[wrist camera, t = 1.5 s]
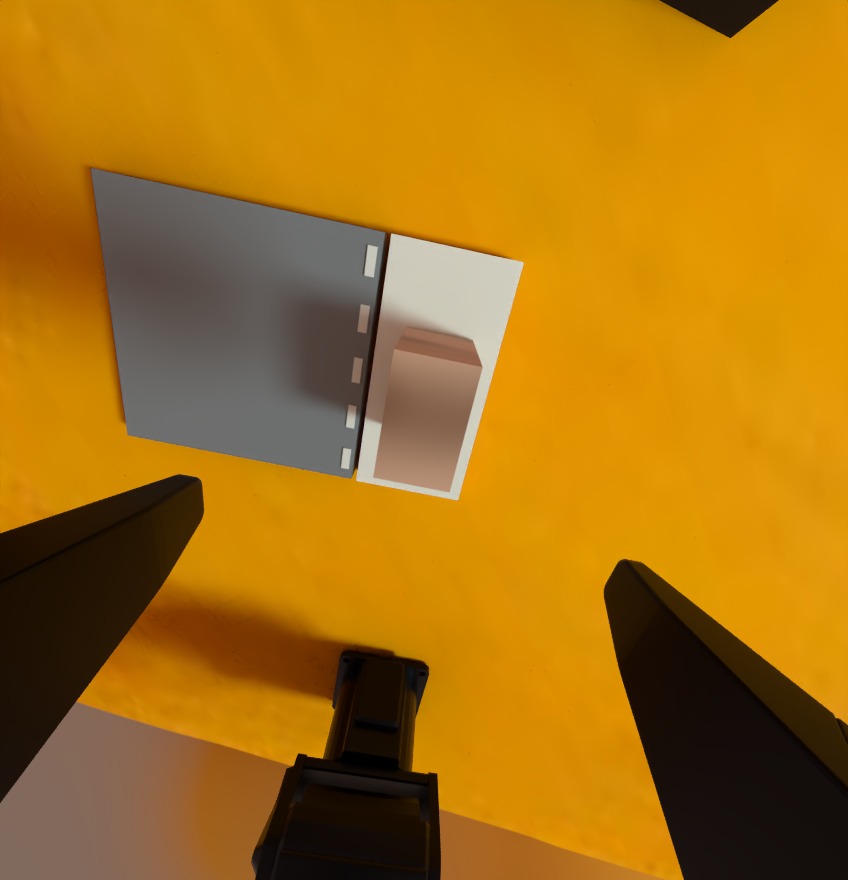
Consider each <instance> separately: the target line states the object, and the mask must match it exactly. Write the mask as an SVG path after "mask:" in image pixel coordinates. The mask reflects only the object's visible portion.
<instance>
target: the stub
mask: <svg viewBox="0 0 848 880" xmlns="http://www.w3.org/2000/svg"><path fill="white" fill-rule="evenodd" d="M523 264H524V262H520V261H515V260H511V259H506V258H502V257H497V256H492V255H488V254H483V253H479V252H474V251H469V250H465V249H460V248H456V247H451V246H447V245H442V244H437V243H433V242H428V241H424V240H419V239H415V238H410V237H405V236H401V235H396V234H392V233H391V240H390V247H389V254H388V261H387V268H386V275H385V282H384V290H383V297H382V304H381V311H380V318H379V325H378V332H377V339H376V346H375V353H374V360H373V367H372V374H371V381H370V388H369V395H368V402H367V409H366V416H365V423H364V430H363V437H362V444H361V451H360V458H359V465H358V472H357V479H356V481H361V482H366V483H371V484H376V485H381V486H387V487H392V488H397V489H402V490H407V491H412V492H417V493H423V494H428V495H433V496H438V497H443V498H448V499H453V500H458V498H459V494H460V491H461V487H462V484H463V480H464V476H465V473H466V469H467V466H468V462H469V458H470V455H471V451H472V448H473V444H474V440H475V437H476V433H477V430H478V426H479V422H480V419H481V415H482V411H483V408H484V404H485V401H486V397H487V393H488V390H489V386H490V383H491V379H492V375H493V372H494V368H495V365H496V361H497V357H498V354H499V350H500V347H501V343H502V339H503V336H504V332H505V329H506V325H507V321H508V318H509V314H510V311H511V307H512V303H513V300H514V296H515V293H516V289H517V285H518V282H519V278H520V275H521V271H522V267H523Z"/></svg>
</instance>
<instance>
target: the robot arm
mask: <svg viewBox="0 0 848 880" xmlns="http://www.w3.org/2000/svg"><path fill="white" fill-rule="evenodd" d="M203 514H204V502H203V489H202V482H201V480H200V479H199V478H197V477H192V476H187V475H181V474H179V475H175V476H172V477H169V478H166V479H163V480H160V481H157V482H154V483H151V484H148V485H145V486H142V487H138V488H135V489H132V490H129V491H126V492H123V493H120V494H117V495H114V496H111V497H108V498H105V499H102V500H99V501H96V502H93V503H90V504H87V505H84V506H81V507H78V508H75V509H72V510H69V511H66V512H63V513H60V514H57V515H54V516H51V517H48V518H45V519H42V520H39V521H36V522H33V523H30V524H27V525H24V526H21V527H18V528H15V529H12V530H9V531H6V532H3V533H0V803H1V801H2V800H3V798H4V797H5V796H6V795H7V793H8V792H9V791H10V789H11V788H12V787H13V785H14V784H15V783H16V781H17V780H18V779H19V777H20V776H21V775H22V773H23V772H24V771H25V769H26V768H27V767H28V765H29V764H30V762H31V761H32V760H33V758H34V757H35V755H36V754H37V753H38V752H39V750H40V749H41V748H42V746H43V745H44V744H45V742H46V741H47V740H48V738H49V737H50V736H51V734H52V733H53V732H54V730H55V729H56V728H57V726H58V725H59V724H60V722H61V721H62V720H63V718H64V717H65V716H66V714H67V713H68V712H69V710H70V709H71V707H72V706H73V705H74V704H75V702H76V701H77V700H78V698H79V697H80V695H81V694H82V693H83V691H84V690H85V689H86V687H87V686H88V685H89V683H90V682H91V681H92V679H93V678H94V677H95V675H96V674H97V673H98V671H99V670H100V669H101V667H102V666H103V665H104V663H105V662H106V661H107V659H108V658H109V657H110V655H111V654H112V653H113V651H114V650H115V649H116V647H117V646H118V645H119V643H120V642H121V641H122V639H123V638H124V637H125V635H126V634H127V632H128V631H129V630H130V628H131V627H132V626H133V624H134V623H135V622H136V620H137V619H138V618H139V616H140V615H141V614H142V612H143V611H144V610H145V608H146V607H147V606H148V604H149V603H150V602H151V600H152V599H153V598H154V596H155V595H156V593H157V592H158V591H159V589H160V588H161V586H162V585H163V583H164V582H165V580H166V579H167V577H168V576H169V574H170V572H171V571H172V569H173V567H174V566H175V564H176V562H177V561H178V559H179V557H180V556H181V554H182V552H183V550H184V549H185V547H186V545H187V544H188V542H189V540H190V539H191V537H192V535H193V534H194V532H195V530H196V529H197V527H198V525H199V524H200V522H201V520H202V517H203ZM604 600H605V605H606V609H607V614H608V619H609V624H610V629H611V634H612V639H613V644H614V649H615V653H616V658H617V662H618V666H619V670H620V674H621V677H622V681H623V684H624V687H625V690H626V694H627V697H628V700H629V703H630V707H631V710H632V713H633V716H634V719H635V723H636V726H637V729H638V732H639V736H640V739H641V742H642V745H643V749H644V752H645V755H646V758H647V762H648V765H649V768H650V771H651V774H652V778H653V781H654V784H655V787H656V791H657V794H658V797H659V800H660V804H661V807H662V810H663V813H664V817H665V820H666V823H667V826H668V830H669V833H670V836H671V839H672V842H673V846H674V849H675V852H676V855H677V859H678V862H679V865H680V868H681V872H682V875H683V878H684V880H848V725H847V724H846V723H845V722H843V721H842V720H841V719H839V718H835V716H834V714H833V713H832V712H830V711H829V710H828V709H827V708H825V707H824V706H823V705H822V704H820V703H819V702H818V701H817V700H815V699H814V698H813V697H811V696H810V695H809V694H808V693H806V692H805V691H804V690H803V689H801V688H800V687H799V686H798V685H796V684H795V683H794V682H792V681H791V680H790V679H789V678H787V677H786V676H785V675H784V674H782V673H781V672H780V671H779V670H777V669H776V668H775V667H774V666H772V665H771V664H770V663H768V662H767V661H766V660H765V659H763V658H762V657H761V656H760V655H758V654H757V653H756V652H755V651H753V650H752V649H751V648H749V647H748V646H747V645H746V644H744V643H743V642H742V641H741V640H739V639H738V638H737V637H736V636H734V635H733V634H732V633H731V632H729V631H728V630H727V629H725V628H724V627H723V626H722V625H720V624H719V623H718V622H717V621H715V620H714V619H713V618H712V617H710V616H709V615H708V614H707V613H705V612H704V611H703V610H701V609H700V608H699V607H698V606H696V605H695V604H694V603H693V602H691V601H690V600H689V599H688V598H686V597H685V596H684V595H682V594H681V593H680V592H679V591H677V590H676V589H675V588H674V587H672V586H671V585H670V584H669V583H667V582H666V581H665V580H664V579H662V578H661V577H660V576H658V575H657V574H656V573H655V572H653V571H652V570H651V569H650V568H648V567H647V566H646V565H645V564H643V563H641V562H638V561H633V560H627V559H622V560H620V561H619V562H618V563H617V565H616V567H615V568H614V570H613V572H612V574H611V576H610V577H609V579H608V581H607V583H606V585H605V588H604ZM428 676H429V667H428V666H427V665H425V664H420V663H415V662H409V661H403V660H398V659H392V658H387V657H381V656H375V655H370V654H364V653H359V652H353V651H343V652H342V653H341V656H340V660H339V667H338V673H337V679H336V686H335V692H334V698H333V705H332V707H333V709H335V711H334V715H333V720H332V724H331V728H330V732H329V736H328V740H327V744H326V748H325V752H324V756H323V759H321V758H314V757H307V755H306V754H299V753H298V755H297V758H296V761H295V764H294V766H292V767H290V768H287V769H286V772H285V775H284V779H283V782H282V785H281V788H280V792H279V794H278V797H277V800H276V803H275V805H274V808H273V810H272V812H271V814H270V816H269V819H268V821H267V823H266V825H265V828H264V830H263V832H262V834H261V836H260V838H259V841H258V843H257V845H256V847H255V850H254V853H253V856H252V862H251V863H252V866H253V869H254V872H255V875H256V878H255V880H440V873H441V850H440V849H441V848H440V824H439V802H438V779H437V773H430V772H429V773H428V774H424V773H417V772H412V763H413V747H414V732H415V718H416V715H417V712H418V708H419V705H420V702H421V699H422V695H423V692H424V689H425V686H426V683H427V679H428Z"/></svg>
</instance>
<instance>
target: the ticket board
mask: <svg viewBox="0 0 848 880" xmlns="http://www.w3.org/2000/svg"><path fill="white" fill-rule="evenodd" d="M91 174H92V181H93V188H94V196H95V203H96V210H97V217H98V224H99V232H100V239H101V246H102V253H103V261H104V268H105V275H106V282H107V289H108V297H109V304H110V311H111V318H112V326H113V333H114V340H115V347H116V354H117V362H118V369H119V376H120V383H121V391H122V398H123V405H124V412H125V419H126V427H127V434H128V435H130V436H135V437H140V438H145V439H150V440H155V441H160V442H165V443H171V444H176V445H181V446H186V447H191V448H196V449H201V450H207V451H212V452H217V453H222V454H227V455H232V456H237V457H243V458H248V459H253V460H258V461H263V462H268V463H273V464H279V465H284V466H289V467H294V468H299V469H304V470H309V471H315V472H320V473H325V474H330V475H335V476H340V477H345V478H352V476H353V473H354V471H355V467H356V460H357V452H358V445H359V438H360V431H361V424H362V416H363V409H364V402H365V395H366V388H367V380H368V373H369V366H370V359H371V352H372V344H373V337H374V330H375V323H376V316H377V308H378V301H379V294H380V287H381V280H382V272H383V265H384V258H385V251H386V244H387V236H388V234H387V233H385V232H382V231H377V230H373V229H368V228H364V227H359V226H355V225H350V224H345V223H341V222H336V221H332V220H327V219H322V218H318V217H313V216H309V215H304V214H300V213H295V212H290V211H286V210H281V209H277V208H272V207H267V206H263V205H258V204H254V203H249V202H245V201H240V200H235V199H231V198H226V197H222V196H217V195H213V194H208V193H203V192H199V191H194V190H190V189H185V188H180V187H176V186H171V185H167V184H162V183H158V182H153V181H148V180H144V179H139V178H135V177H130V176H126V175H121V174H116V173H112V172H107V171H103V170H98V169H93V168H91Z"/></svg>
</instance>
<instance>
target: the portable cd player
mask: <svg viewBox="0 0 848 880" xmlns="http://www.w3.org/2000/svg"><path fill="white" fill-rule="evenodd" d="M660 1H662V2H664V3H665V4H667V5H669V6H671V7H673V8H675V9H677V10H679V11H680V12H682V13H684V14H686V15H688V16H690V17H692V18H694V19H695V20H697V21H699V22H701V23H703V24H705V25H707V26H709V27H710V28H712V29H714V30H716V31H718V32H720V33H722V34H724V35H725V36H727V37H729V38H731V37H733V36H734V35H735V34H736V33H738V32H739V31H740V30H742V29H743V28H744V27H745V26H747V25H748V24H749V23H750V22H752V21H753V20H754V19H756V18H757V17H758V16H759V15H761V14H762V13H763V12H764V11H766V10H767V9H768V8H769V7H771V6H772V5H773V4H775V3H776V2H777V1H778V0H660Z"/></svg>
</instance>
